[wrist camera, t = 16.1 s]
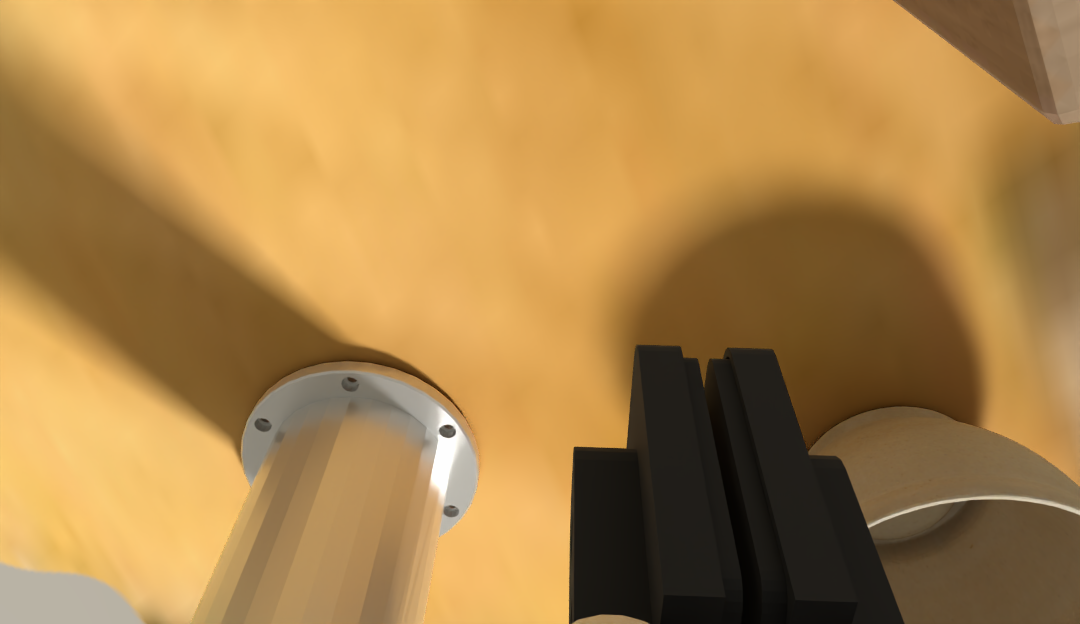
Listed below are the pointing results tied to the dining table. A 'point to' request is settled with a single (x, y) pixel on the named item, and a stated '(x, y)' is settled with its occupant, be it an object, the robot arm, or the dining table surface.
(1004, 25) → the wooden block
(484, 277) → the dining table surface
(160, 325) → the dining table surface
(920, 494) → the planter bowl
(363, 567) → the robot arm
